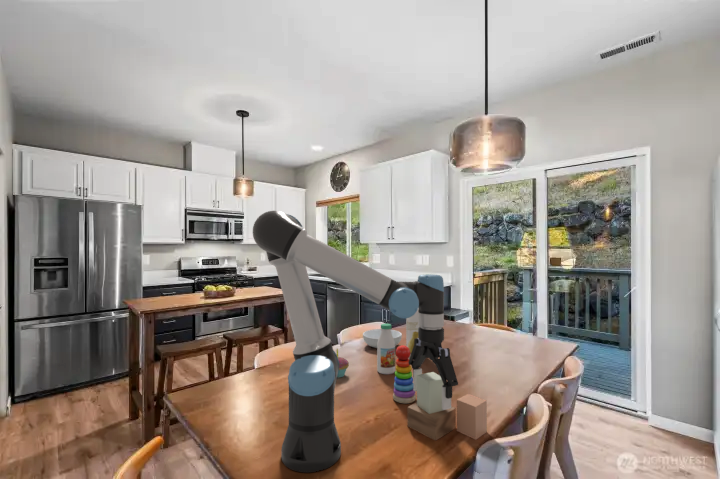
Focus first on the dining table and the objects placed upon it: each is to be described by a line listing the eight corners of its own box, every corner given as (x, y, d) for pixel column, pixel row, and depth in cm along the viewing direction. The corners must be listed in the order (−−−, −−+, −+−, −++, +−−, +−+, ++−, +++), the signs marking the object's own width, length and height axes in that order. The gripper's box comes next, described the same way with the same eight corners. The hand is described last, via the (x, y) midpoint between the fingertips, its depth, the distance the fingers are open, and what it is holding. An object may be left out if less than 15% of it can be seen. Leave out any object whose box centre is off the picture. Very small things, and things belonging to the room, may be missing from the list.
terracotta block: (475, 439, 95) (475, 406, 95) (456, 430, 100) (456, 399, 100) (486, 431, 99) (486, 400, 99) (468, 423, 104) (467, 393, 104)
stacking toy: (400, 392, 126) (400, 341, 126) (420, 398, 121) (419, 345, 121) (388, 400, 120) (388, 345, 120) (408, 406, 114) (408, 350, 115)
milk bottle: (374, 372, 145) (374, 325, 146) (381, 367, 152) (381, 321, 153) (391, 376, 142) (391, 327, 142) (398, 370, 149) (397, 323, 149)
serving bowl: (357, 342, 191) (357, 330, 191) (392, 339, 197) (392, 327, 197) (370, 354, 171) (370, 340, 171) (408, 350, 177) (408, 336, 177)
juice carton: (406, 360, 162) (405, 308, 162) (406, 354, 169) (406, 305, 170) (426, 361, 160) (426, 309, 160) (426, 355, 168) (425, 306, 168)
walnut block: (435, 441, 95) (435, 419, 95) (407, 427, 102) (407, 406, 102) (455, 428, 101) (455, 408, 101) (428, 416, 109) (428, 397, 109)
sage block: (429, 414, 98) (429, 382, 98) (416, 405, 103) (416, 375, 103) (445, 409, 100) (445, 378, 101) (433, 401, 106) (432, 371, 106)
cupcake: (345, 380, 138) (345, 349, 138) (325, 378, 139) (325, 348, 140) (350, 372, 146) (350, 343, 146) (331, 370, 148) (331, 342, 148)
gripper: (471, 335, 93) (471, 414, 92) (416, 317, 115) (416, 381, 115) (449, 338, 89) (449, 420, 89) (397, 319, 112) (397, 385, 111)
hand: (431, 399), depth 102 cm, fingers open, 13 cm apart
